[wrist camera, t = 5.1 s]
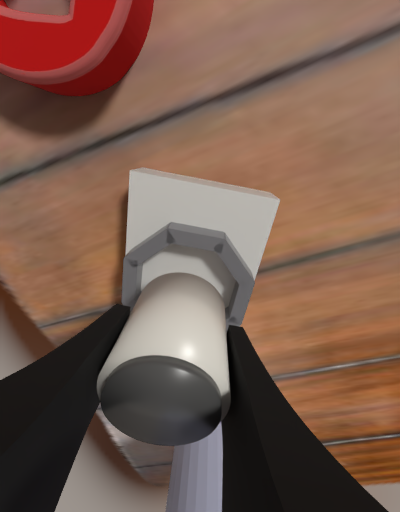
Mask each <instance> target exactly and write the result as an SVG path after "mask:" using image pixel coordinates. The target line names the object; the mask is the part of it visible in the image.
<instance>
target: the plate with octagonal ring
mask: <svg viewBox="0 0 400 512" xmlns="http://www.w3.org/2000/svg"><path fill="white" fill-rule="evenodd" d="M279 202H280V199H279V198H277V197H276V196H274V195H273V194H272V193H270V192H266V191H261V190H256V189H251V188H246V187H241V186H236V185H230V184H225V183H220V182H215V181H210V180H205V179H200V178H195V177H189V176H184V175H179V174H174V173H169V172H164V171H159V170H154V169H149V168H139V169H134V170H130V177H129V196H128V216H127V235H126V255H125V257H124V260H123V281H122V302H121V303H122V304H123V305H124V306H130V314H131V312H132V310H133V308H134V306H135V304H136V302H137V300H138V298H139V296H140V294H141V293H142V291H143V289H144V288H145V286H146V285H147V284H148V283H149V282H151V281H152V280H153V279H155V278H157V277H159V276H161V275H164V274H168V273H175V272H182V273H189V274H193V275H196V276H199V277H201V278H203V279H205V280H206V281H208V282H209V283H211V284H212V285H213V286H214V287H215V288H216V289H217V290H218V292H219V293H220V295H221V297H222V299H223V302H224V306H225V318H226V333H227V330H228V327H229V325H234V326H239V327H240V325H241V324H242V321H243V318H244V315H245V312H246V309H247V306H248V303H249V299H250V296H251V293H252V290H253V287H254V284H255V281H254V280H255V277H256V274H257V271H258V268H259V265H260V261H261V258H262V255H263V252H264V249H265V246H266V243H267V240H268V237H269V233H270V230H271V227H272V224H273V221H274V218H275V215H276V212H277V208H278V205H279Z"/></svg>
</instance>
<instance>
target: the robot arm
mask: <svg viewBox="0 0 400 512" xmlns="http://www.w3.org/2000/svg"><path fill="white" fill-rule="evenodd" d="M129 316H130V306H124V305H119V304H116V305H115V306H113V307H112V308H111V309H110V310H108V311H107V312H106V313H105V314H103V315H102V316H101V317H99V318H98V319H97V320H96V321H94V322H93V323H92V324H90V325H89V326H88V327H86V328H85V329H84V330H82V331H81V332H80V333H78V334H77V335H75V336H74V337H73V338H71V339H70V340H68V341H67V342H65V343H64V344H62V345H61V346H59V347H58V348H56V349H55V350H53V351H52V352H50V353H48V354H47V355H45V356H44V357H42V358H40V359H39V360H37V361H35V362H33V363H32V364H30V365H28V366H27V367H25V368H23V369H21V370H19V371H17V372H16V373H13V374H12V375H10V376H8V377H6V378H4V379H2V380H0V512H54V511H55V509H56V506H57V504H58V501H59V498H60V496H61V493H62V490H63V488H64V485H65V483H66V480H67V478H68V475H69V473H70V470H71V468H72V465H73V462H74V460H75V457H76V455H77V453H78V450H79V448H80V445H81V443H82V440H83V438H84V435H85V433H86V430H87V428H88V426H89V424H90V422H91V419H92V417H93V415H94V413H95V411H96V409H97V407H98V405H99V403H100V399H99V396H98V393H97V380H98V376H99V374H100V372H101V370H102V368H103V366H104V364H105V362H106V360H107V358H108V356H109V354H110V352H111V350H112V349H113V347H114V345H115V343H116V341H117V339H118V337H119V335H120V333H121V331H122V329H123V327H124V325H125V323H126V322H127V320H128V318H129ZM227 348H228V364H229V379H230V394H231V403H230V408H229V410H228V413H227V415H226V416H225V417H224V419H223V420H222V421H221V422H220V423H219V425H218V426H217V428H216V429H215V430H214V431H213V432H212V433H211V434H210V435H208V436H207V437H205V438H203V439H201V440H199V441H197V442H194V443H190V444H185V445H178V446H174V454H173V461H172V468H171V475H170V483H169V490H168V498H167V505H166V512H388V511H387V510H386V509H385V508H384V507H383V506H382V505H381V504H380V503H379V502H378V501H377V500H376V499H375V498H373V497H372V496H371V495H370V494H369V493H368V492H367V491H366V490H365V489H364V488H363V487H362V486H361V485H360V484H359V483H358V482H357V481H356V480H355V479H354V478H353V477H352V476H351V475H350V474H349V473H348V472H347V471H346V469H345V468H344V467H343V466H342V465H341V464H340V463H339V462H338V461H337V460H336V459H335V458H334V457H333V456H332V455H331V454H330V452H329V451H328V450H327V449H326V448H325V447H324V446H323V444H322V443H321V442H320V441H319V440H318V439H317V438H316V436H315V435H314V434H313V433H312V432H311V431H310V430H309V428H308V427H307V426H306V425H305V423H304V422H303V421H302V420H301V419H300V417H299V416H298V415H297V413H296V412H295V411H294V409H293V408H292V407H291V406H290V404H289V403H288V402H287V400H286V399H285V397H284V396H283V394H282V393H281V392H280V390H279V389H278V387H277V386H276V384H275V383H274V381H273V380H272V378H271V376H270V375H269V373H268V372H267V370H266V368H265V367H264V365H263V363H262V362H261V360H260V358H259V356H258V355H257V353H256V351H255V349H254V347H253V346H252V344H251V342H250V340H249V338H248V336H247V334H246V332H245V330H244V329H243V327H239V326H234V325H229V327H228V330H227Z"/></svg>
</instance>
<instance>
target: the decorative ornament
mask: <svg viewBox="0 0 400 512" xmlns="http://www.w3.org/2000/svg"><path fill="white" fill-rule="evenodd" d="M153 3H154V0H71V1H70V9H69V14H68V15H65V16H55V15H44V14H33V13H27V12H21V11H17V10H13V9H9V7H8V6H7V5H6V3H5V1H4V0H0V73H2V74H4V75H6V76H9V77H11V78H13V79H16V80H19V81H22V82H24V83H27V84H30V85H33V86H35V87H38V88H41V89H44V90H46V91H49V92H52V93H55V94H59V95H65V96H85V95H91V94H95V93H98V92H100V91H103V90H105V89H107V88H109V87H111V86H112V85H114V84H115V83H117V82H118V81H119V80H120V79H122V77H123V76H124V75H125V74H126V73H127V71H128V70H129V68H130V67H131V66H132V64H133V63H134V62H135V60H136V59H137V57H138V55H139V53H140V51H141V49H142V47H143V44H144V42H145V39H146V36H147V33H148V30H149V26H150V22H151V17H152V11H153Z"/></svg>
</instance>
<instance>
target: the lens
mask: <svg viewBox="0 0 400 512" xmlns="http://www.w3.org/2000/svg"><path fill="white" fill-rule="evenodd" d="M97 393H98V396H99V399H100V402H101V407H102V411H103V413H104V415H105V416H106V418H107V419H108V420H109V422H110V423H111V424H112V425H113V426H115V427H116V428H117V429H118V430H120V431H121V432H123V433H124V434H126V435H128V436H130V437H132V438H134V439H137V440H139V441H142V442H146V443H150V444H155V445H163V446H178V445H185V444H190V443H194V442H197V441H199V440H201V439H203V438H205V437H207V436H208V435H210V434H211V433H212V432H213V431H214V430H215V429H216V428H217V426H218V425H219V423H220V422H221V421H222V420H223V419H224V417H225V416H226V415H227V413H228V410H229V408H230V403H231V394H230V379H229V364H228V348H227V333H226V318H225V306H224V302H223V299H222V297H221V295H220V293H219V292H218V290H217V289H216V288H215V287H214V286H213V285H212V284H211V283H209V282H208V281H206V280H205V279H203V278H201V277H199V276H196V275H193V274H189V273H182V272H175V273H168V274H164V275H161V276H159V277H157V278H155V279H153V280H152V281H151V282H149V283H148V284H147V285H146V286H145V288H144V289H143V291H142V293H141V294H140V296H139V298H138V300H137V302H136V304H135V306H134V308H133V310H132V312H131V314H130V316H129V318H128V320H127V322H126V323H125V325H124V327H123V329H122V331H121V333H120V335H119V337H118V339H117V341H116V343H115V345H114V347H113V349H112V350H111V352H110V354H109V356H108V358H107V360H106V362H105V364H104V366H103V368H102V370H101V372H100V374H99V376H98V380H97Z"/></svg>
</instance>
